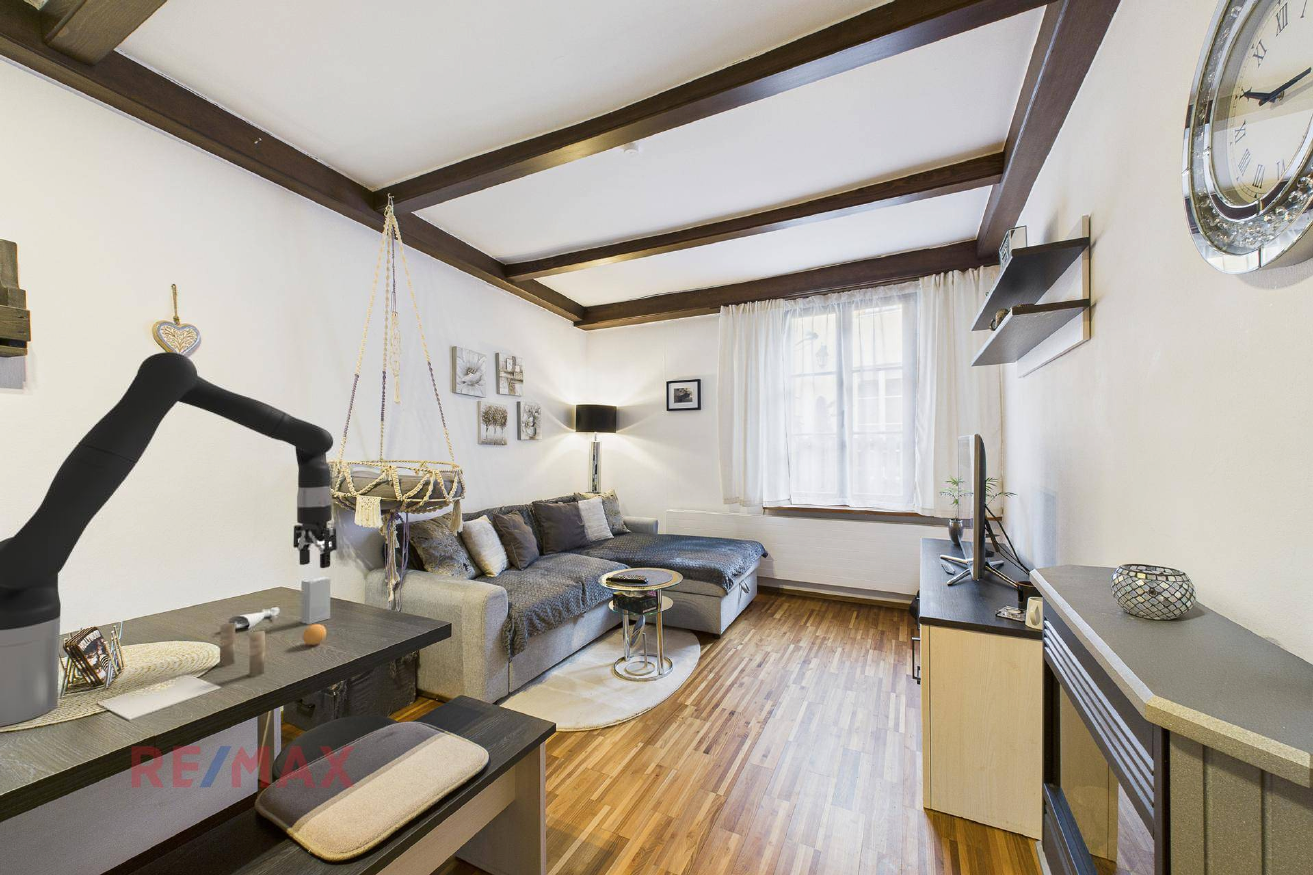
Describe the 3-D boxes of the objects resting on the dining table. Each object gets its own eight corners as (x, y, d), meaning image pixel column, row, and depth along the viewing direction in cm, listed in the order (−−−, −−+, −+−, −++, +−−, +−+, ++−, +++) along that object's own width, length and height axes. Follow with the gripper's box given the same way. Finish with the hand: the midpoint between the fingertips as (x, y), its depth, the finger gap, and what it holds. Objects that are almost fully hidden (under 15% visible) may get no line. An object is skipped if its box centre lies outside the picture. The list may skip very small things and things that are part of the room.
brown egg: (310, 649, 127) (310, 629, 127) (298, 646, 129) (298, 626, 129) (330, 642, 131) (330, 623, 131) (318, 639, 133) (318, 620, 133)
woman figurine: (208, 618, 137) (257, 602, 155) (207, 635, 136) (256, 617, 154) (253, 617, 137) (297, 602, 155) (252, 634, 137) (296, 617, 155)
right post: (253, 677, 111) (254, 635, 111) (246, 675, 112) (247, 633, 112) (266, 672, 113) (267, 632, 114) (259, 670, 115) (260, 630, 115)
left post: (223, 666, 116) (224, 627, 116) (217, 664, 117) (218, 625, 118) (236, 662, 119) (237, 623, 119) (230, 660, 120) (231, 622, 120)
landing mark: (129, 720, 93) (129, 719, 93) (96, 703, 99) (96, 702, 99) (221, 688, 106) (221, 687, 106) (186, 675, 112) (186, 674, 112)
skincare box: (322, 616, 151) (322, 575, 152) (330, 618, 149) (331, 577, 149) (299, 622, 146) (300, 580, 146) (308, 625, 144) (309, 582, 144)
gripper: (282, 504, 133) (282, 566, 133) (317, 507, 127) (317, 572, 127) (312, 501, 139) (312, 560, 139) (346, 503, 134) (346, 565, 133)
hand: (314, 565), depth 133 cm, fingers open, 8 cm apart
